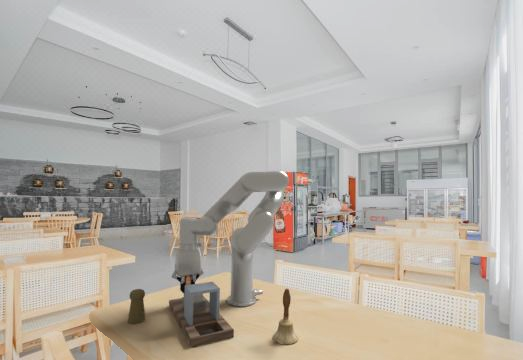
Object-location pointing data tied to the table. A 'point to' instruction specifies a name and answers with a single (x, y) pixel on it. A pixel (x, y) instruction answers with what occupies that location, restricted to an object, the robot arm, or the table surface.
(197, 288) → the tunnel
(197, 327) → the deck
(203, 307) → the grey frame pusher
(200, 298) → the cream block
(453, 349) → the table surface
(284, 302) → the hand bell
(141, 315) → the cork
